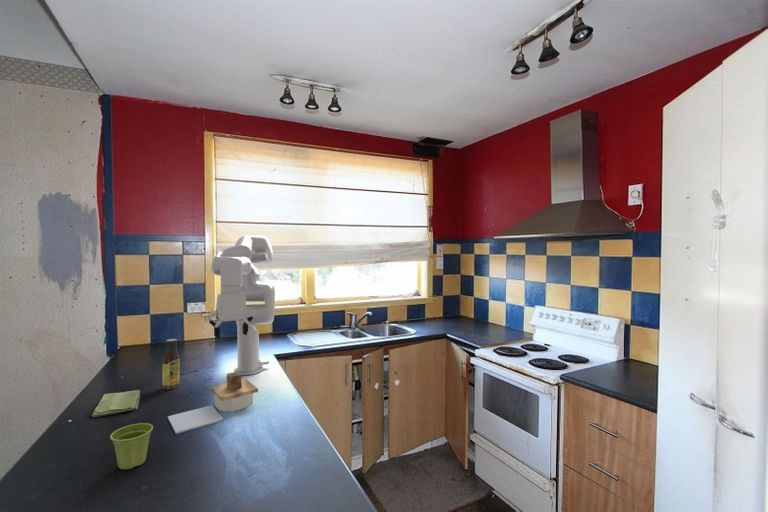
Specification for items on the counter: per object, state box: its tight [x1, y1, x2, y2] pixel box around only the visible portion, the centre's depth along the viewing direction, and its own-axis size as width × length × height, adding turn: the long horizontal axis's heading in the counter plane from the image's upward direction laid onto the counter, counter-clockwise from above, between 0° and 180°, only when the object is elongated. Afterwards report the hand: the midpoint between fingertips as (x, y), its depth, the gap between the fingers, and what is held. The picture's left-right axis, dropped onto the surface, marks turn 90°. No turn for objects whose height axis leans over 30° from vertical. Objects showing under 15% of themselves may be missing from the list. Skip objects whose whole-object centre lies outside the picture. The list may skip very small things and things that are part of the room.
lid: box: [210, 372, 259, 401], centre depth 134 cm, size 13×13×6 cm
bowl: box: [214, 393, 254, 413], centre depth 134 cm, size 12×12×5 cm
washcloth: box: [91, 389, 141, 418], centre depth 133 cm, size 13×18×3 cm
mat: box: [167, 404, 224, 435], centre depth 122 cm, size 14×14×1 cm
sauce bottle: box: [161, 338, 181, 391], centre depth 150 cm, size 7×6×20 cm
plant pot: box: [109, 422, 154, 470], centre depth 97 cm, size 9×9×9 cm
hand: (231, 336), depth 134 cm, fingers open, 9 cm apart
